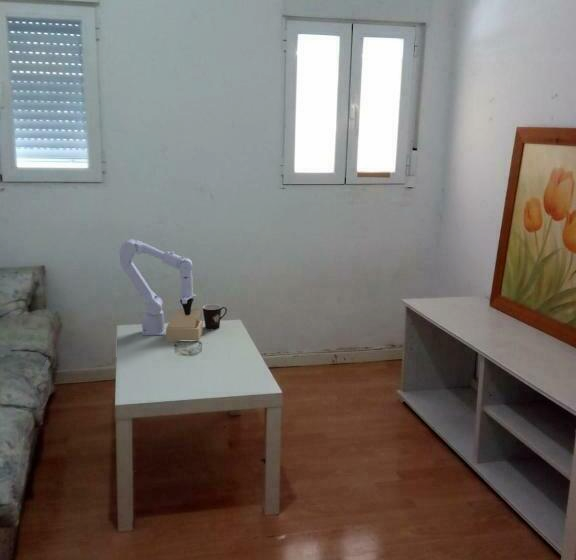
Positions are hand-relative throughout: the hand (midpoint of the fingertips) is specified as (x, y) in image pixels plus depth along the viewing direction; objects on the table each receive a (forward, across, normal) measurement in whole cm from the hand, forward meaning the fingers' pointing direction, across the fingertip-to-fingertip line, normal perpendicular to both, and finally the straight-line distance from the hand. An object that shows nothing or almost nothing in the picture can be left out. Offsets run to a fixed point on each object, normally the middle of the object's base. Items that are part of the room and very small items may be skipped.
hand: (187, 314), depth 287 cm
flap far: (0, 0, 0) cm, 0 cm away
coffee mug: (+8, +7, -12) cm, 16 cm away
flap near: (0, -11, 0) cm, 11 cm away
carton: (+8, -7, 0) cm, 11 cm away
